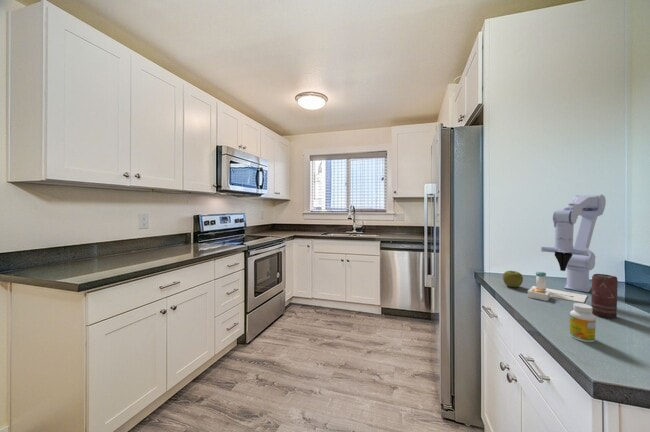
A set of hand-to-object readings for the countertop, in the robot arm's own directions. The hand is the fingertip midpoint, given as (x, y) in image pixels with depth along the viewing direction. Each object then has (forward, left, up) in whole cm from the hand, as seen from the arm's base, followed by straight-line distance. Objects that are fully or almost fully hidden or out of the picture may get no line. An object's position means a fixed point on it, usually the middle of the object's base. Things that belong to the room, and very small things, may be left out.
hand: (563, 270), depth 112 cm
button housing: (+11, -6, -10) cm, 16 cm away
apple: (+2, -17, -11) cm, 21 cm away
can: (+17, +13, -11) cm, 24 cm away
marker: (+2, -7, -10) cm, 12 cm away
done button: (+11, -6, -10) cm, 16 cm away
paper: (+1, -2, -10) cm, 11 cm away
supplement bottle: (+43, +10, -11) cm, 45 cm away
